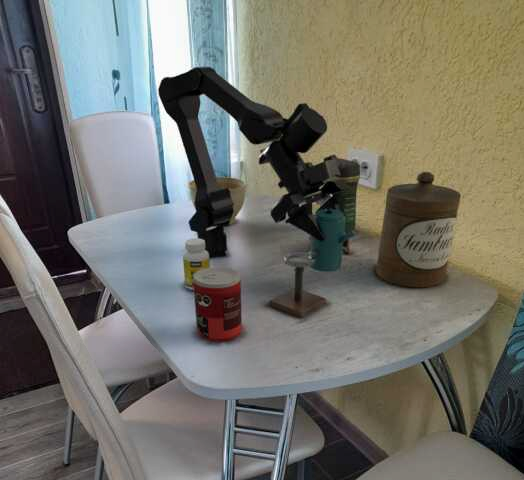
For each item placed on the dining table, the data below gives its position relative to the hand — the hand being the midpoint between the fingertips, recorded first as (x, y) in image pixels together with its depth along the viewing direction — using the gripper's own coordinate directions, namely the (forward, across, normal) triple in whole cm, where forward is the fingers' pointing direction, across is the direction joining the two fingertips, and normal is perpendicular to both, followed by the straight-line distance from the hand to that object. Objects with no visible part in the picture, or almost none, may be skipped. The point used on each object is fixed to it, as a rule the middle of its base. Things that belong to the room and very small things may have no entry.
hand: (333, 235), depth 98 cm
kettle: (+5, -4, +5) cm, 8 cm away
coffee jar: (-6, +35, +24) cm, 43 cm away
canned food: (+5, -27, +12) cm, 30 cm away
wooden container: (+15, +20, +2) cm, 24 cm away
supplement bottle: (-7, -16, +25) cm, 30 cm away
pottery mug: (-1, +20, +18) cm, 27 cm away
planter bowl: (-27, +19, +45) cm, 56 cm away
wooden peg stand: (+8, -9, +9) cm, 15 cm away
